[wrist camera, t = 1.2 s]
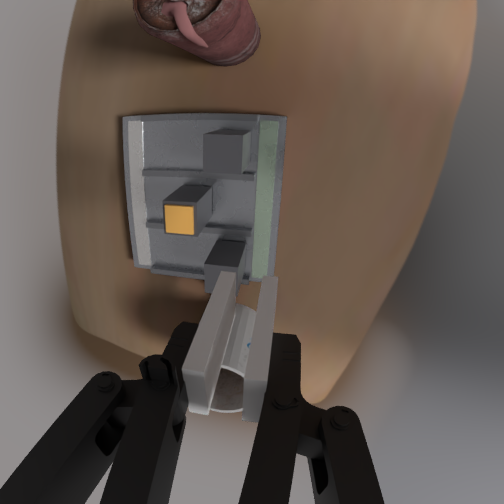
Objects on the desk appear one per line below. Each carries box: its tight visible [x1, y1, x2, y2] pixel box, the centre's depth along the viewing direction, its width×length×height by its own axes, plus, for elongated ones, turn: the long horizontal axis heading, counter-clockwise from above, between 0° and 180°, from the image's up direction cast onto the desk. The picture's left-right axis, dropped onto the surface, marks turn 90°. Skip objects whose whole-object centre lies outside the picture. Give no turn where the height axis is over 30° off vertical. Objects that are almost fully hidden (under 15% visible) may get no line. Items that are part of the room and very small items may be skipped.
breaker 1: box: [203, 129, 252, 175], centre depth 24 cm, size 3×3×5 cm
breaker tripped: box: [162, 185, 212, 237], centre depth 27 cm, size 3×3×5 cm
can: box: [133, 0, 261, 66], centre depth 17 cm, size 6×6×14 cm
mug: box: [199, 303, 256, 412], centre depth 33 cm, size 12×9×10 cm
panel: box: [123, 113, 287, 285], centre depth 30 cm, size 17×16×2 cm
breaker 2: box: [204, 240, 246, 296], centre depth 29 cm, size 3×3×5 cm
